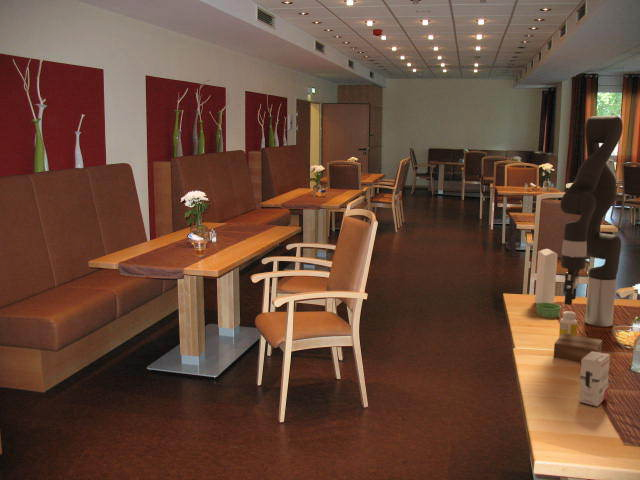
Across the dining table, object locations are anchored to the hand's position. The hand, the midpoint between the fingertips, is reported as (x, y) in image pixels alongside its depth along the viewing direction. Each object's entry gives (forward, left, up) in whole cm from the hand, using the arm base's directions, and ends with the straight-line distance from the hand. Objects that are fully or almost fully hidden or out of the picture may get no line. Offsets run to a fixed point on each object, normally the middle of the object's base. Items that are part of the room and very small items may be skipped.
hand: (569, 301), depth 213 cm
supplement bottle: (0, 0, -14) cm, 14 cm away
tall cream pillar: (-41, -15, -14) cm, 45 cm away
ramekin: (-28, -11, -14) cm, 33 cm away
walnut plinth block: (+14, +5, -14) cm, 20 cm away
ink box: (+48, +13, -14) cm, 52 cm away
